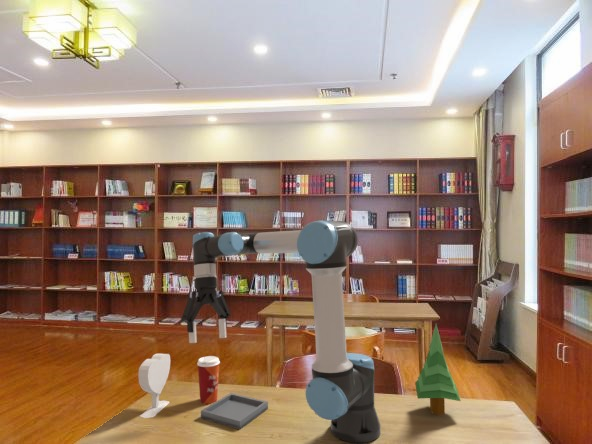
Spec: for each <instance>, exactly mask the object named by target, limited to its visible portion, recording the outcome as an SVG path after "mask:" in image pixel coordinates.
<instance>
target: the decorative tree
mask: <svg viewBox="0 0 592 444" xmlns="http://www.w3.org/2000/svg"><path fill="white" fill-rule="evenodd" d="M433 329H434V330H433V332H432V337H431V339H430V343H429V346H428V347H429V349H428V350H429V351H428V353H427V355H426V360H425V362H424V364H423V368H422V369H421V370H420V374H419V376H418V377H417V380H415V383H414V385H415V389H416V396H417V397H416V398H417V399H429V410H430V413H431V414H435V415H438V416H439V415H445V413H446V412H445V404H446V403H445V402H446V401H445V399H446V400H451V401H458V402H461V401H462V400H461V398H460V395H459V391H458V388H457V385H456V384H455V381H454V378H453V377H452V374H451V372H450V370H449V366H448V364H447V361H446V357H445V355H444V349H443V345H442V341H441V337H440V332H439V329H438V324H437V323H435V326H434V328H433Z"/></svg>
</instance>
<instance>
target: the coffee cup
mask: <svg viewBox="0 0 592 444" xmlns="http://www.w3.org/2000/svg"><path fill="white" fill-rule="evenodd" d="M220 364H221V361H220V359H219V357H218V356H214V355H208V356H202V357H200V358H198V360H197V363H196V365H197V370H198V371H197V372H198V387H199V399H200V403H201V404H205V405H209V404H210V405H211V404H213V403H215V402H217V401H218V393H219V392H218V391H219V374H220V373H219V371H220Z"/></svg>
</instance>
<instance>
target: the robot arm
mask: <svg viewBox="0 0 592 444" xmlns="http://www.w3.org/2000/svg"><path fill="white" fill-rule="evenodd" d="M358 243H359V237H358V233H357V231H356V229H355V228H354V227H353V225H352V224H351V223H348V222H346V221H344V220H342V221H341V220H325V219H324V220H322V219H321V220H316V221H310V222H309V223H307V224H305V225H304V226H303V227H302V229H299V230H281V231H267V232H265V231H264V232H250V233H249V232H247V233H238V232H236V231H230V232H225V233H223V234H218V235H215V234H214V233H212V232H208V231H203V232H197V233H195V234H194V235H193V236H192V254H193V255H192V257H193V271H194V272H193V276H194V277H195V278H194V280H193V281H194V289H195V291H189V292H188V294H187V295H188V296H187V302H186V303H185V304H186V305H185V306H184V309H183V312H182V315H181V321H182V322H184V323H186V328H187V329H186V330H187V331H186V332H187V333H188V343H189V344H196V343H198V341H197V340H198V338H197V322H196V321H195V320H196V318H197V315H198V314H199V312H200V310H201V308H202V307H203V306H204V305H209V306H211V307H212V308H213V310H214V311H215V312H216V314H217V315H218V317H219V318H218V335H219V339H225V338H227V327H228V320H227V319H229V317H231V316H232V315H231V312H230V309H229V307H228V304H227V302H226V299H225V296H224V291H223V290H216V288H217V287H218V280H217V277H216V276H217V262H216V259H218V258H223V257H229V256H239V255H254V254H255V255H256V254H257V255H258V254H294V253H295V254H296V253H297V254H299V256H300V257H301V259H302V260H304V262H305V270H306V271H307V272H309V274H310V275H311V286H312V287H311V289H312V307H313V321H314V336H315V337H314V338H315V355H316V359H315V361H314V362H313V363H312V364H311V380H310V381H309V382H308V384H307V385H306V387H305V399H306V403H307V404H308V406H309V408H310V409H311V410H312V411H313V412H314V414H315V415H316V416H318V417H320V418H322V419H323V420H329V421H330V431H331V434H332V435H334V436H335V437H336V438H337V439H339V440H341V441H344V442H347V443H353V444H354V443H355V444H365V443H370V442H373V441H375V440H376V439H378V438H379V437H380V435H381V422H380V419H379V417H378V413H377V409H376V407H375V365H374V364H375V363H374V360H373V358H372V357H371V356H369V355H366V354H361V353H355V352H353V353H351V352H347V338H346V326H345V325H346V321H345V308H344V306H345V305H344V290H343V289H344V288H343V272H344V271H345V269H347V267H348V266H347V265H348V264H347V258H349V257H350V256H351V255H352V254H354V253H355V251H356V249H357V248H358Z"/></svg>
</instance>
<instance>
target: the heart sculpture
mask: <svg viewBox="0 0 592 444" xmlns="http://www.w3.org/2000/svg"><path fill="white" fill-rule="evenodd" d="M170 369H171V355H170V353H155V354H153V355H152V356H151V358H146V359H145V360H144V361H142V363H141V364H140V366H139V367H138V375H137V377H138V384H139V386H140V388H141V389H142V390H143V391H144V392H145V393H149V394H151V406H150V407H148V408H147V409H146V410H145V411H144V412H143V413H142V414H140V415H139V417H141V418H143V419H149V418H154V417H156V416H157V414H159V413H160V412H161V411H162V410H163V409H164V408H165V407H167V406H168V405H169V404H170V401H169V400H160V395H161V394H162V390H163V389H164V387H165V384H166V383H167V380H168V378H169V373H170Z"/></svg>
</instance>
